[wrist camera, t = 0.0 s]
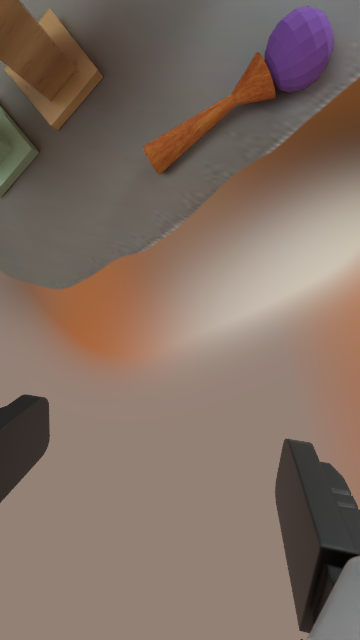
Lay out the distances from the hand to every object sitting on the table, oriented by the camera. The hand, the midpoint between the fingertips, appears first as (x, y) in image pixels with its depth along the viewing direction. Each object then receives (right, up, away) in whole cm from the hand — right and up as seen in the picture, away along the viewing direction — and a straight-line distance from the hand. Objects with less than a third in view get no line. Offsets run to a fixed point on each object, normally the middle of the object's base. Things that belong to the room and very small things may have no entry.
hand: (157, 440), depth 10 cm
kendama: (+6, +27, +23) cm, 36 cm away
